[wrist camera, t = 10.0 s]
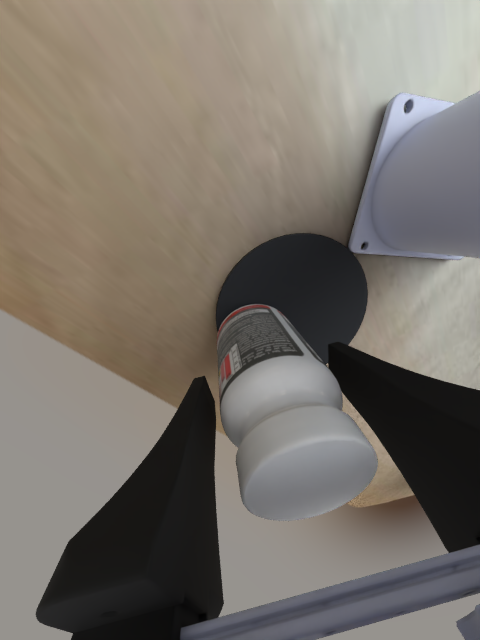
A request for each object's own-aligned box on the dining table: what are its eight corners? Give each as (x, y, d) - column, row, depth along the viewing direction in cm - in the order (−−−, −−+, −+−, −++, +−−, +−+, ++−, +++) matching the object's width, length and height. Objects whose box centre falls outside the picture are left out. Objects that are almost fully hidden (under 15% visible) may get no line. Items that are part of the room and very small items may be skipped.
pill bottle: (207, 357, 16) (199, 529, 7) (230, 291, 14) (263, 411, 5) (271, 371, 17) (336, 528, 8) (300, 313, 15) (431, 437, 6)
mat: (386, 239, 14) (392, 240, 13) (339, 373, 19) (342, 376, 18) (217, 226, 12) (217, 226, 12) (214, 376, 17) (214, 380, 17)
